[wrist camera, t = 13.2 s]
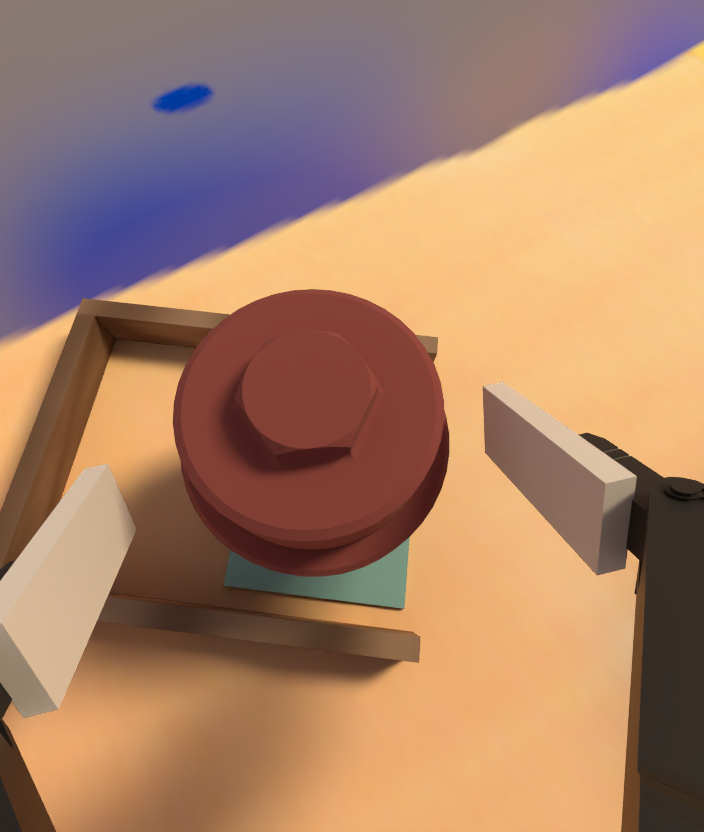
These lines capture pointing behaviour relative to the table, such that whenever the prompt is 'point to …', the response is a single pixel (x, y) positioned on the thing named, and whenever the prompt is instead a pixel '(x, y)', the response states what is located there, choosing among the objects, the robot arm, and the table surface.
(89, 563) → the robot arm
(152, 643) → the table surface
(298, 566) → the mechanical component
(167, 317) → the bay
